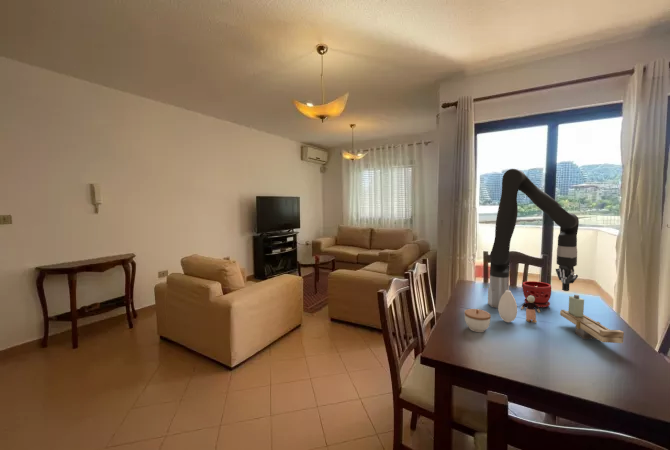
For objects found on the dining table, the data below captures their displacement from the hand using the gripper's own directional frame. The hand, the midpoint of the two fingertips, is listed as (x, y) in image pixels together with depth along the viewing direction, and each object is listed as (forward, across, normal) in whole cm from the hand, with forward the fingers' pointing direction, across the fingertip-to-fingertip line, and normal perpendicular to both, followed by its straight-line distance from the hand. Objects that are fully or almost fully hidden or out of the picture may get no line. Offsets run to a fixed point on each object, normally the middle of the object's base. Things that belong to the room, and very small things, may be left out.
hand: (565, 290), depth 135 cm
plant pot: (+15, -21, -2) cm, 26 cm away
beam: (+15, +16, 0) cm, 22 cm away
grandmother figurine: (+15, +2, -16) cm, 22 cm away
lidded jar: (+15, +14, -44) cm, 49 cm away
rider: (+9, +8, 0) cm, 12 cm away
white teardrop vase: (+15, +4, -27) cm, 31 cm away
